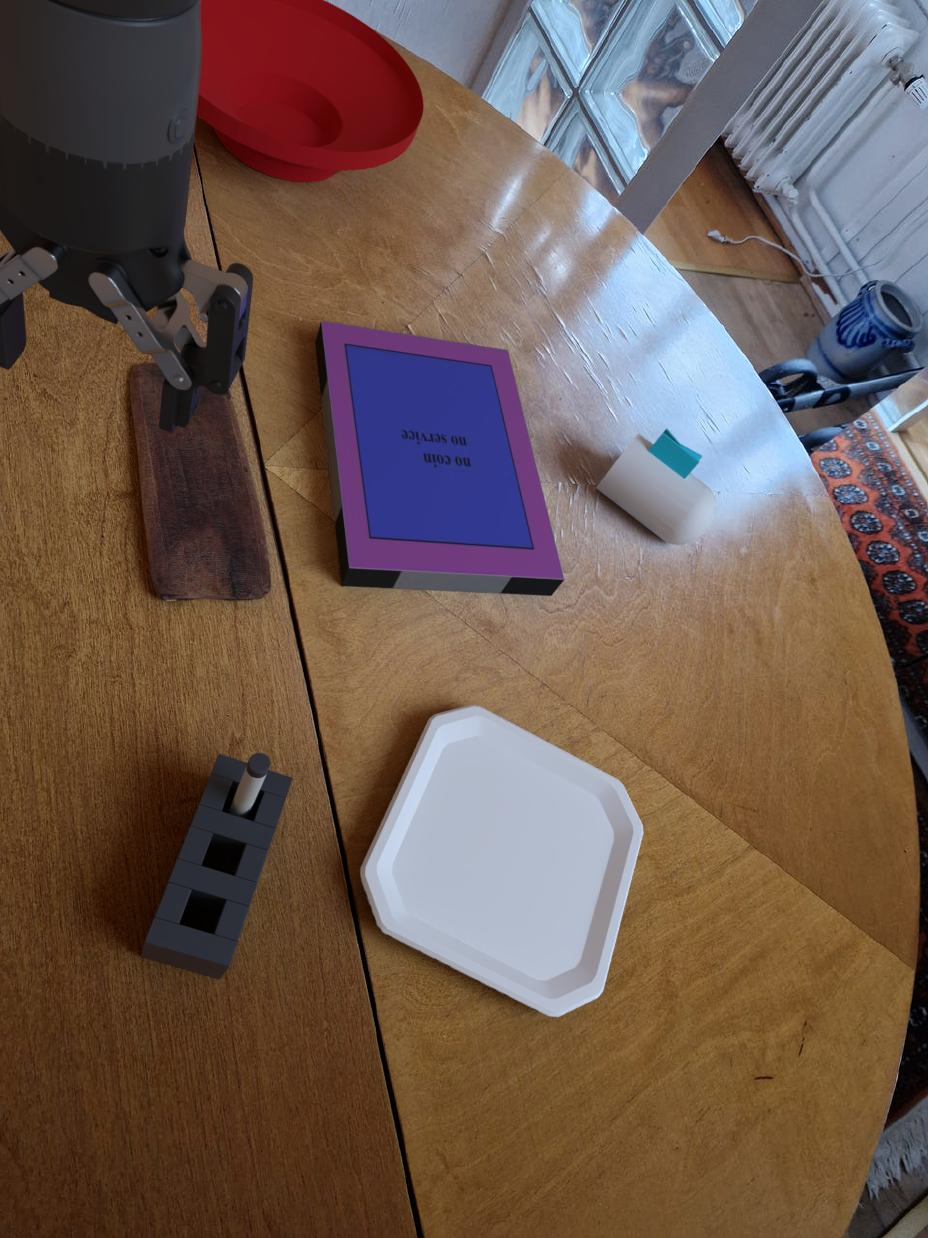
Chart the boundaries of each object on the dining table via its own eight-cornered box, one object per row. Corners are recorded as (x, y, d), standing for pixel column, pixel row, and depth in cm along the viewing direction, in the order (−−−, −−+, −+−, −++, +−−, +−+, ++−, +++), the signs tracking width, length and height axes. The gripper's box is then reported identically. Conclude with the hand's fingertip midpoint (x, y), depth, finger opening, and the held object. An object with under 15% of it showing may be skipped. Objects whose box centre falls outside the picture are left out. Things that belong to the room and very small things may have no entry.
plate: (436, 695, 77) (444, 684, 75) (641, 804, 79) (654, 796, 77) (334, 917, 65) (341, 910, 63) (579, 1040, 67) (593, 1037, 65)
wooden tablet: (125, 351, 82) (236, 350, 85) (127, 369, 84) (236, 367, 87) (150, 599, 71) (277, 588, 74) (152, 613, 73) (275, 601, 76)
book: (508, 349, 99) (564, 579, 85) (498, 369, 101) (551, 595, 87) (321, 320, 91) (349, 568, 77) (315, 342, 94) (341, 586, 80)
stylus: (221, 825, 66) (244, 767, 56) (230, 809, 66) (254, 748, 57) (239, 833, 66) (264, 777, 56) (247, 817, 66) (274, 758, 57)
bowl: (148, 35, 110) (152, -54, 102) (384, 94, 121) (405, 18, 113) (150, 196, 96) (156, 108, 88) (417, 246, 107) (443, 172, 99)
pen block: (220, 980, 60) (229, 967, 56) (140, 957, 59) (144, 942, 55) (281, 800, 68) (293, 777, 64) (211, 777, 67) (219, 753, 63)
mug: (739, 498, 89) (643, 425, 89) (681, 565, 93) (590, 495, 94) (747, 472, 99) (661, 406, 99) (694, 533, 103) (612, 470, 104)
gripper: (302, 124, 37) (247, 395, 50) (-49, -40, 34) (-11, 291, 47) (242, 223, 33) (198, 491, 46) (-165, 44, 30) (-88, 382, 43)
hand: (92, 389), depth 47 cm, fingers open, 8 cm apart
